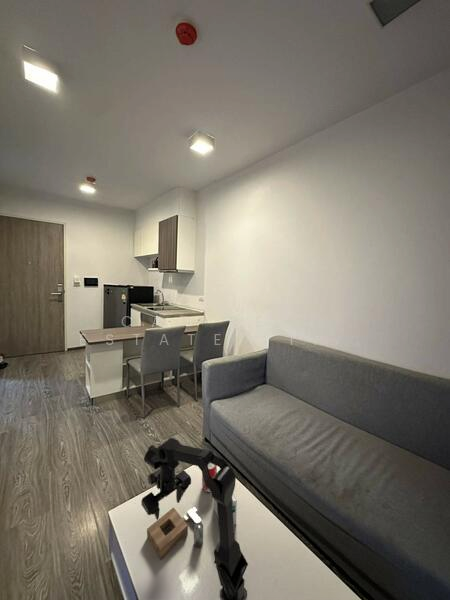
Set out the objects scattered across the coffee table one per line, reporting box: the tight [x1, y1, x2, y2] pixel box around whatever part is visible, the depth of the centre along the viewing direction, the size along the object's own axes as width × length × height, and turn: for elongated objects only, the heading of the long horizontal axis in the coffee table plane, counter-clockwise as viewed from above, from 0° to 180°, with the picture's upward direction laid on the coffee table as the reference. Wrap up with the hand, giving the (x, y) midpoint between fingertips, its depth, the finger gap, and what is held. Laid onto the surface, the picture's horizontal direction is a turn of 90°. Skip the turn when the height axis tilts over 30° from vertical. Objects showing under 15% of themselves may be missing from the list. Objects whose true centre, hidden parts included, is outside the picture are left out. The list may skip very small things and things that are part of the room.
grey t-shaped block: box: [182, 506, 203, 527], centre depth 97 cm, size 7×6×2 cm
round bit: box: [193, 522, 204, 549], centre depth 89 cm, size 3×3×7 cm
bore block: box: [146, 507, 189, 561], centre depth 91 cm, size 10×12×4 cm
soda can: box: [201, 463, 218, 493], centre depth 112 cm, size 7×7×12 cm
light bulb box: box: [213, 493, 238, 526], centre depth 99 cm, size 11×7×11 cm, turn 22°
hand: (167, 510), depth 90 cm, fingers open, 9 cm apart
